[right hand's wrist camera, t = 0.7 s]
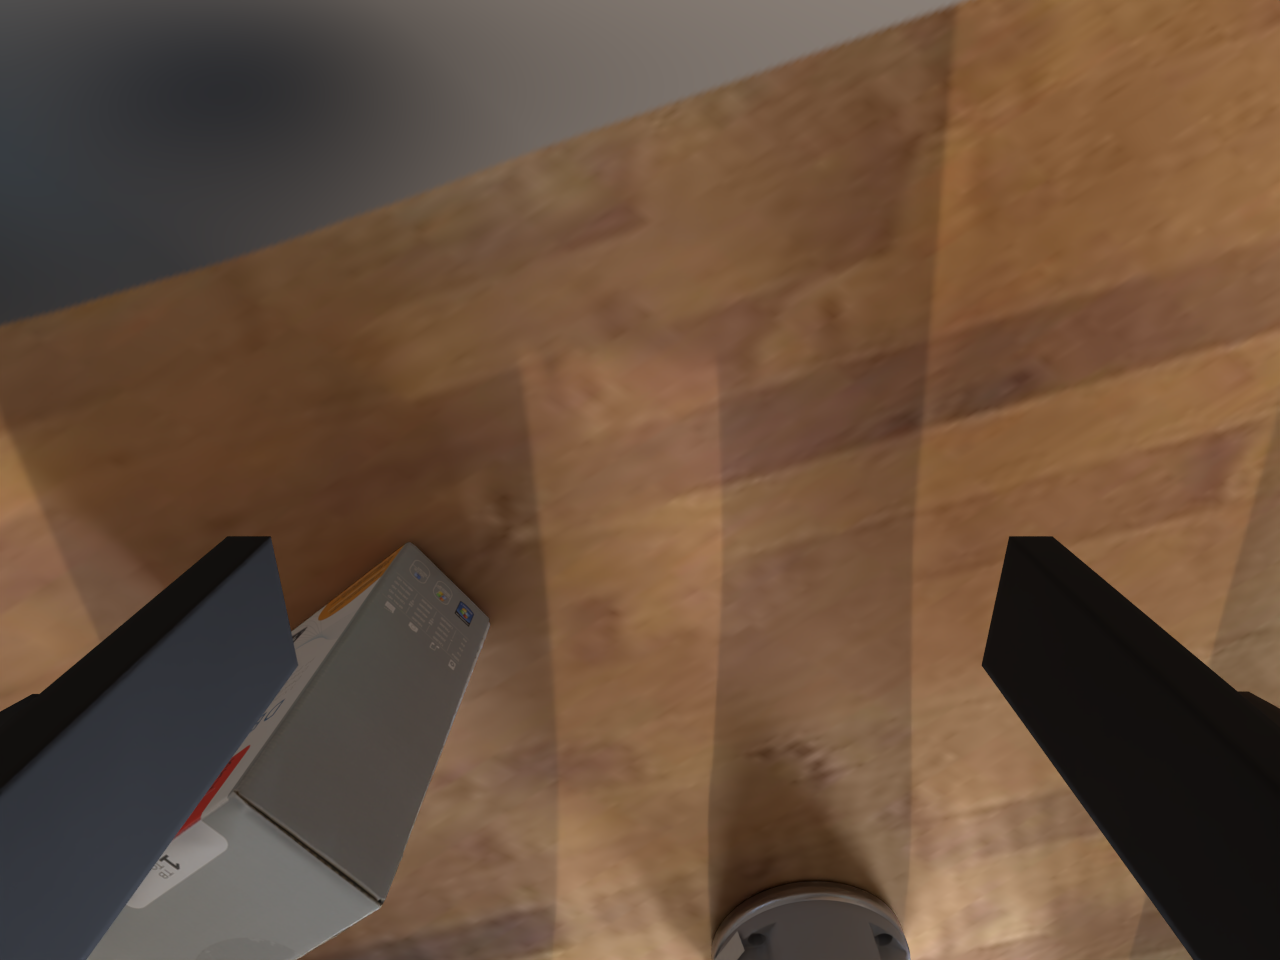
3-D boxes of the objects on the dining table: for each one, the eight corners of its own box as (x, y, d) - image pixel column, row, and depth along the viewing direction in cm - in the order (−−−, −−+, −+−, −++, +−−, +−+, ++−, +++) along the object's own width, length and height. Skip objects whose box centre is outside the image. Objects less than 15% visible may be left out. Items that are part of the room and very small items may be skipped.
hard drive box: (409, 534, 43) (239, 789, 25) (495, 619, 46) (397, 910, 27) (241, 666, 47) (-17, 974, 29) (328, 738, 49) (141, 1068, 31)
